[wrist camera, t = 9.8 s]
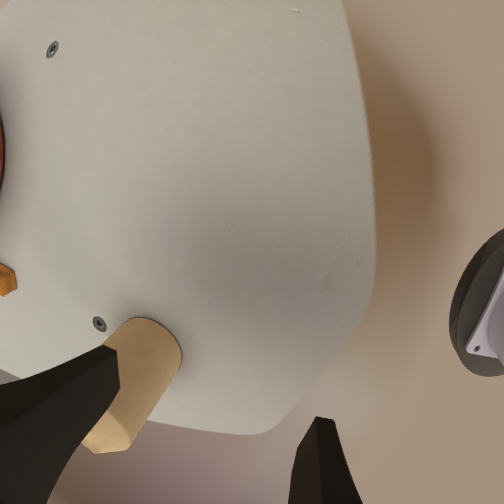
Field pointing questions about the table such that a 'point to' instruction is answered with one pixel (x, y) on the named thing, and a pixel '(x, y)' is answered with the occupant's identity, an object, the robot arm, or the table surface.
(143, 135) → the table surface
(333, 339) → the table surface
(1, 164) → the flower pot
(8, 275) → the fry stick
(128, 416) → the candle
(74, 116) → the table surface
